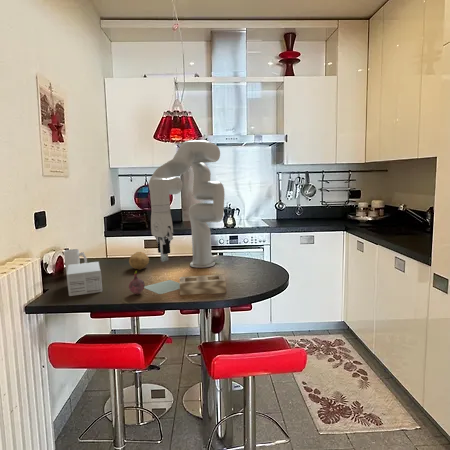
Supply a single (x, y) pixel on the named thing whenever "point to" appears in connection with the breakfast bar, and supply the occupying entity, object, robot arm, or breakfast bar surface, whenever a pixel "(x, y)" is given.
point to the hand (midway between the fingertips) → (164, 252)
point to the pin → (163, 256)
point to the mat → (163, 287)
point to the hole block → (202, 284)
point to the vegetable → (136, 285)
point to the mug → (73, 257)
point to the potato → (139, 260)
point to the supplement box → (84, 278)
